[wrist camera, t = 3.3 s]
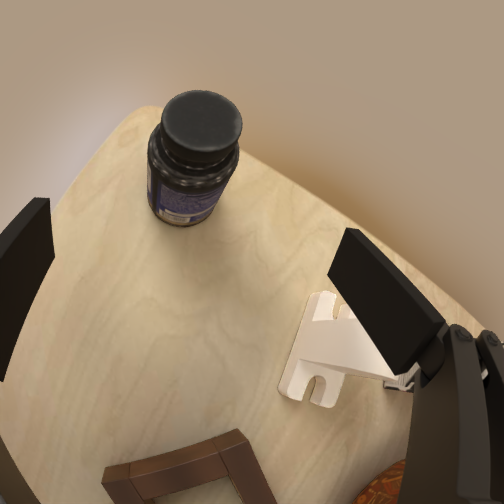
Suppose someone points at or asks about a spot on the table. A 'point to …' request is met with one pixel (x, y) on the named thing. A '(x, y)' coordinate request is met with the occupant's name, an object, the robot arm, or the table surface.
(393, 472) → the bowl
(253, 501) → the dock
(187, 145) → the pill bottle
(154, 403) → the table surface
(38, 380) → the table surface
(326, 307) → the cable organizer
